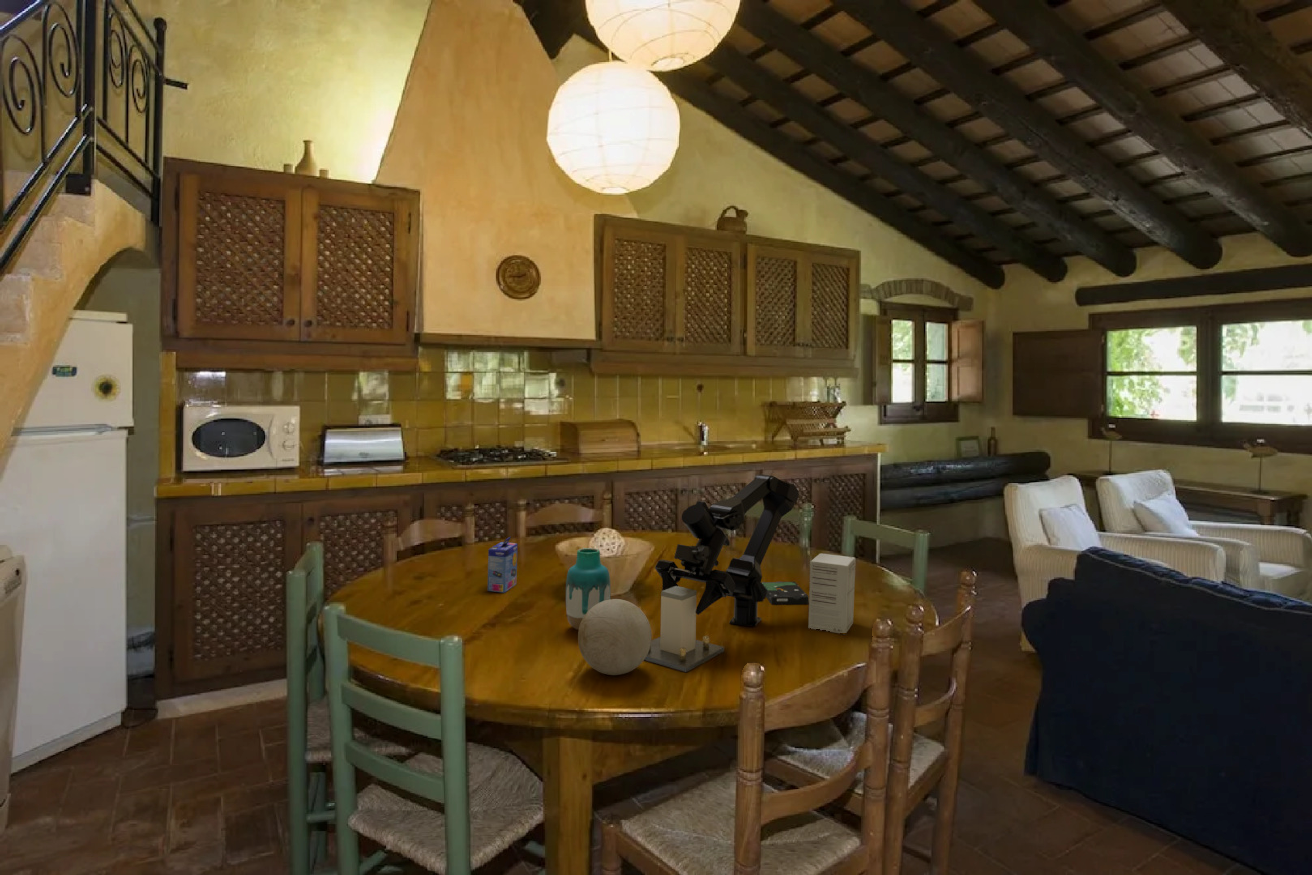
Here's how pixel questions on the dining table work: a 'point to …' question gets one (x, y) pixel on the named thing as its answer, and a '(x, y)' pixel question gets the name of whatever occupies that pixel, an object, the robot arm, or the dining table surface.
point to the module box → (678, 619)
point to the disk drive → (785, 593)
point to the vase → (586, 585)
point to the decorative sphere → (614, 637)
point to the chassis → (683, 655)
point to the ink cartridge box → (502, 566)
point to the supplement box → (831, 593)
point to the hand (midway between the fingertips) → (679, 609)
